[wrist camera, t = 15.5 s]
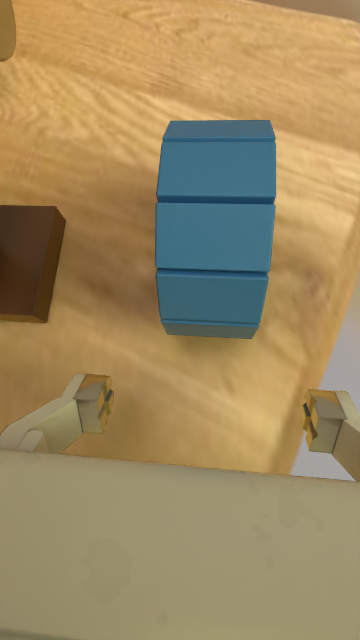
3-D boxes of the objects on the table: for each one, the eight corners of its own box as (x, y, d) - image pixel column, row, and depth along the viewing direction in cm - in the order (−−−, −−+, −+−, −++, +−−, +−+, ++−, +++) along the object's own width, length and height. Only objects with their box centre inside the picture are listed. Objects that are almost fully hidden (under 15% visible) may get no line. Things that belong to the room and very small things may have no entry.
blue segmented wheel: (173, 348, 22) (145, 292, 12) (185, 209, 24) (169, 66, 14) (244, 352, 21) (277, 297, 11) (247, 210, 24) (276, 63, 14)
